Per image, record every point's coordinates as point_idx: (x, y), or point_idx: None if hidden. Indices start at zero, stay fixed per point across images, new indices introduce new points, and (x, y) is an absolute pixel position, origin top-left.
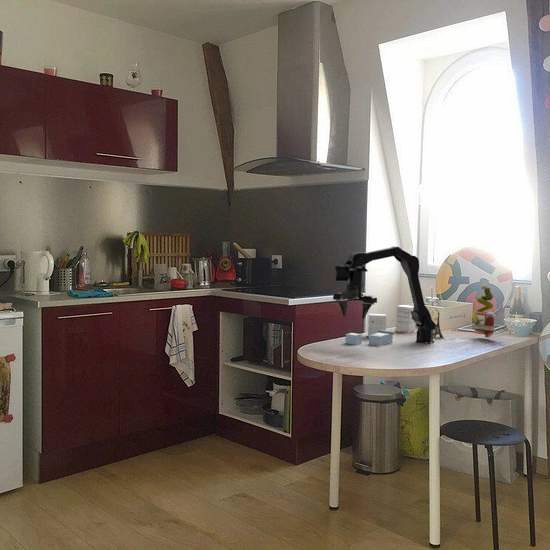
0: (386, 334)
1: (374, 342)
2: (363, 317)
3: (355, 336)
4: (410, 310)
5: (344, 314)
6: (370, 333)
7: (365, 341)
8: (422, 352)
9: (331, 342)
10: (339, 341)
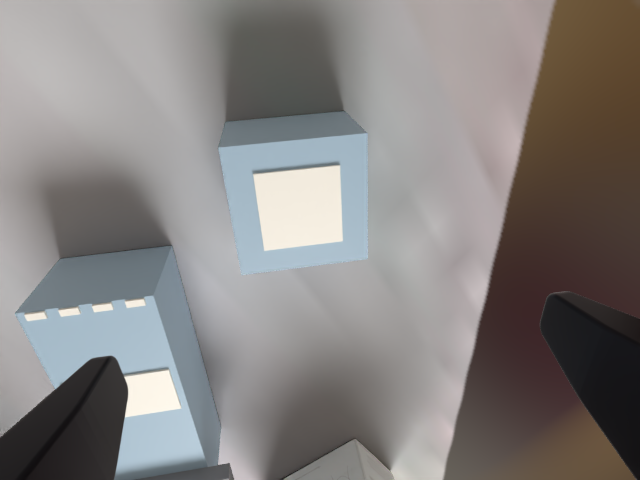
0: None
1: (103, 265)
2: (66, 380)
3: (227, 144)
4: None
5: (580, 321)
6: (350, 469)
7: (280, 325)
8: None
9: (473, 37)
10: (436, 155)
